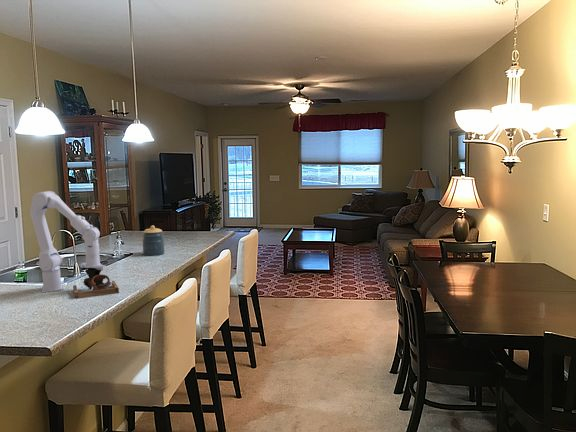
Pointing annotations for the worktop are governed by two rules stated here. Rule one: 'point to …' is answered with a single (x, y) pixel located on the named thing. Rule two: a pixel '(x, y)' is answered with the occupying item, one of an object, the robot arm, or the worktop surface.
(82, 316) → the worktop surface
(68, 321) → the worktop surface
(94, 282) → the pottery mug
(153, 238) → the canister
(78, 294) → the corral
